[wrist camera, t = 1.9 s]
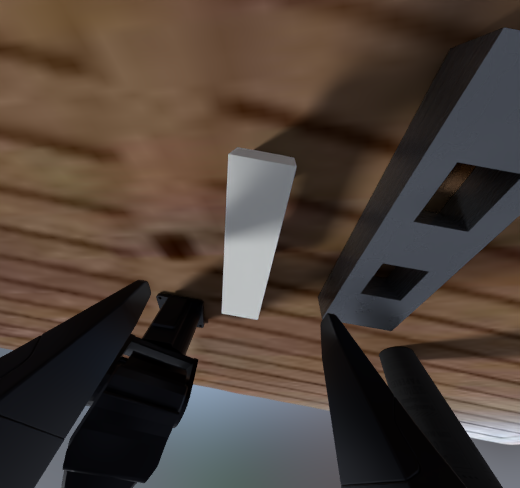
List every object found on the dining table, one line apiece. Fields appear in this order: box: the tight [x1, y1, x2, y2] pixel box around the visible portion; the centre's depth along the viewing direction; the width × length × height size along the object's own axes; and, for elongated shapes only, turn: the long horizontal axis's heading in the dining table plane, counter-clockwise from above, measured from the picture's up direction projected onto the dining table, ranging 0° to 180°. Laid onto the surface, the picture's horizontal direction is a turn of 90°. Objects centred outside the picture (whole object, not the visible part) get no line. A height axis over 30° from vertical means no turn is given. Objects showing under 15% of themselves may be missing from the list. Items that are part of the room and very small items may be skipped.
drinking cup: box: [379, 347, 503, 488], centre depth 21 cm, size 8×8×20 cm
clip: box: [222, 147, 297, 320], centre depth 14 cm, size 12×3×7 cm, turn 171°
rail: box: [318, 28, 520, 331], centre depth 15 cm, size 22×8×3 cm, turn 171°
